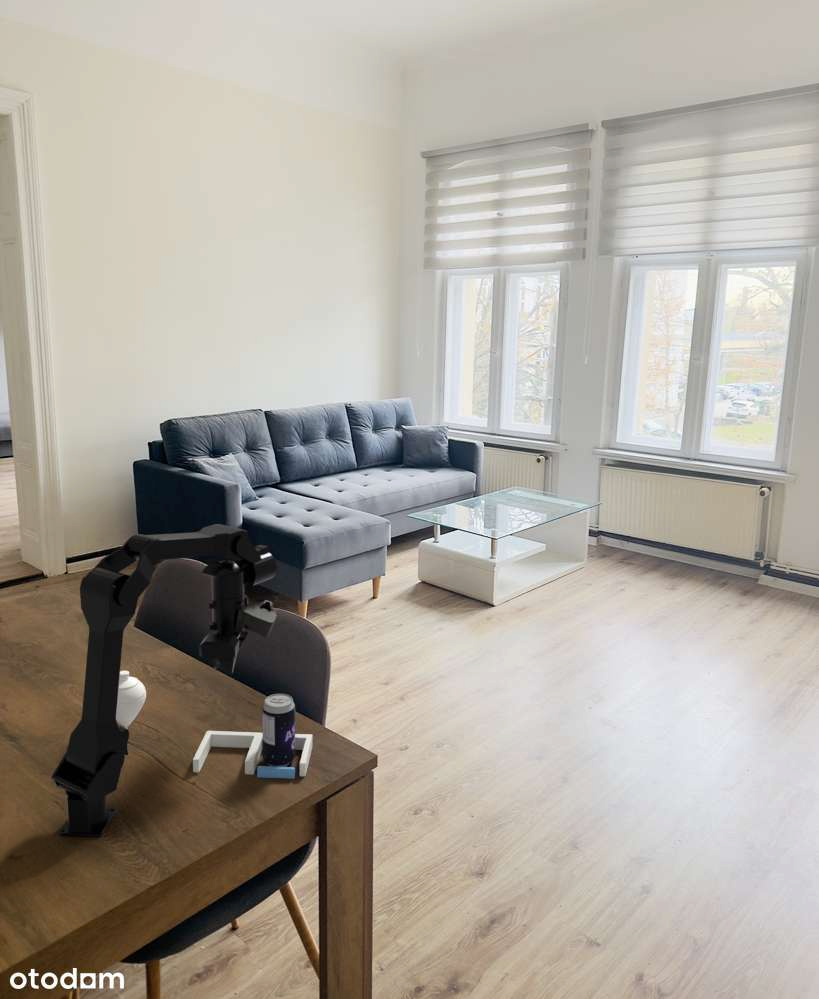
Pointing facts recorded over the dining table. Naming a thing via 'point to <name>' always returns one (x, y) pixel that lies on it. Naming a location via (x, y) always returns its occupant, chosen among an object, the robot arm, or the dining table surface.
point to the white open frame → (253, 752)
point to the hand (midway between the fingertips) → (229, 673)
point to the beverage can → (278, 730)
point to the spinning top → (129, 698)
